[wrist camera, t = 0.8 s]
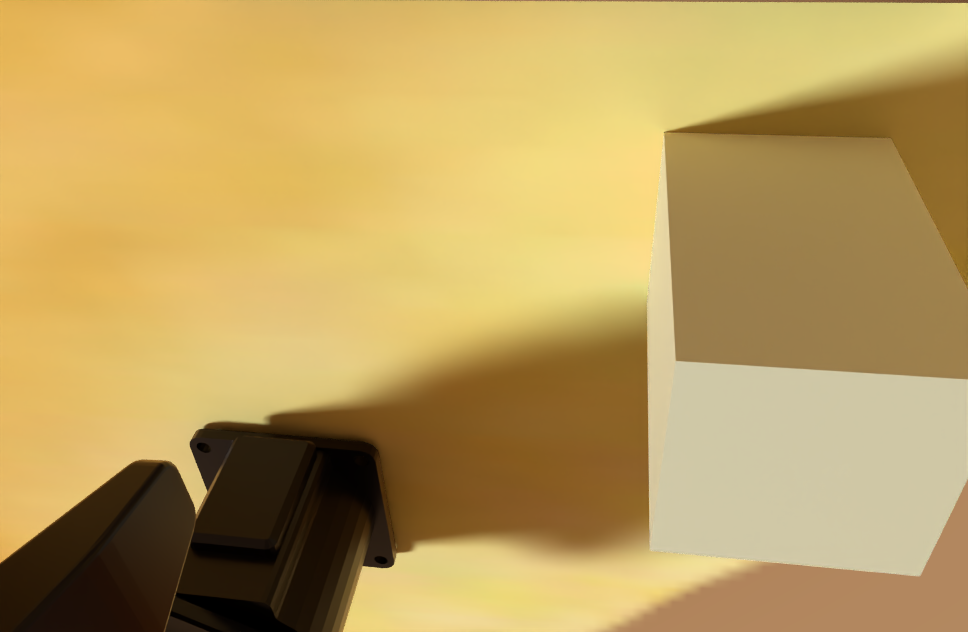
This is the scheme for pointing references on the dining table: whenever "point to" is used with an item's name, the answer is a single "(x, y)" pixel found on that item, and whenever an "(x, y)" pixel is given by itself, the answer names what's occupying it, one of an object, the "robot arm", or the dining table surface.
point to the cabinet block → (802, 355)
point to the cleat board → (771, 0)
